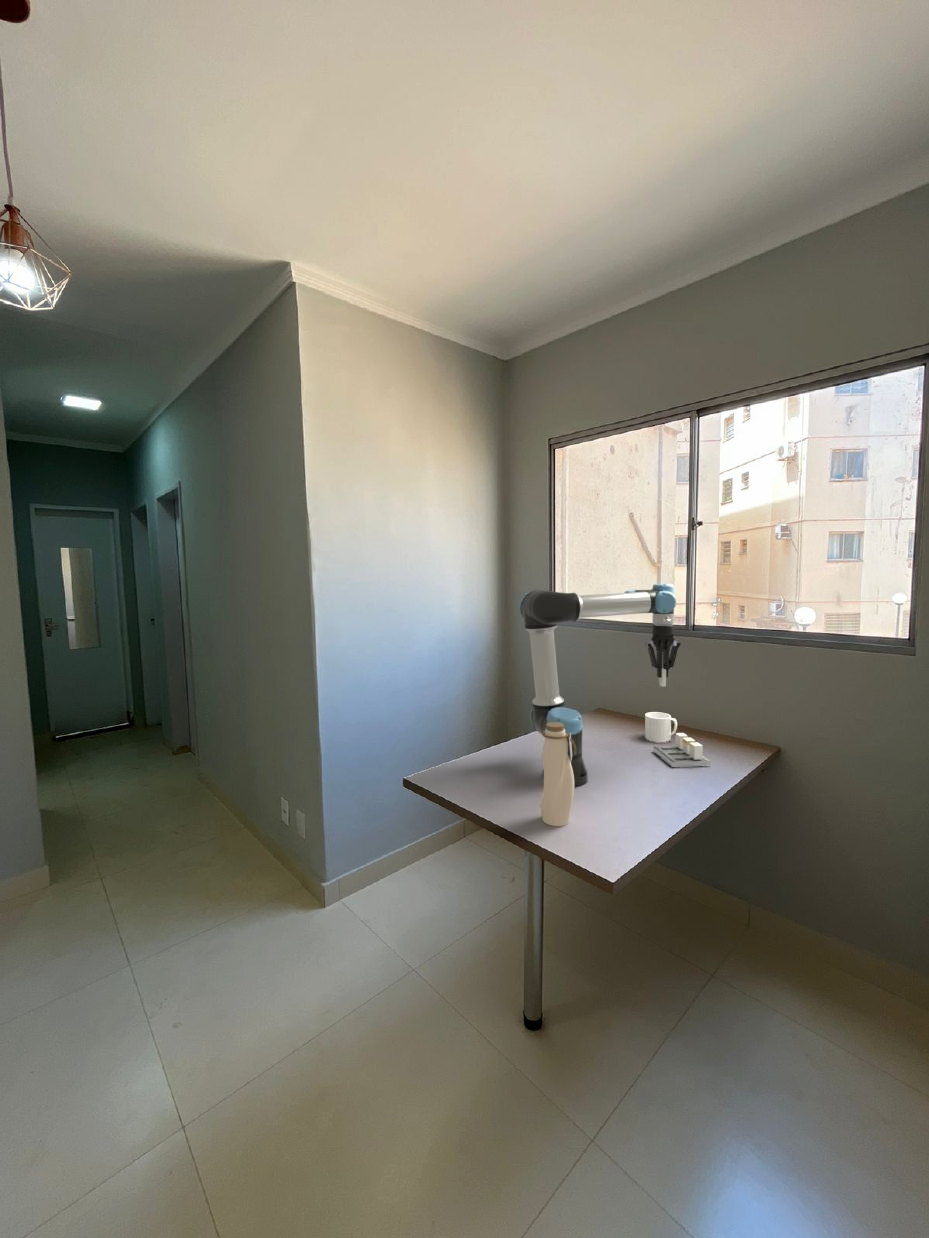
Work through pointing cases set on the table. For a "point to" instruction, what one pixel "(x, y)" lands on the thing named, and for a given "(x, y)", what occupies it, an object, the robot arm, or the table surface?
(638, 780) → the table surface
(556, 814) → the water bottle
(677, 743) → the block
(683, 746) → the block
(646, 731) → the mug
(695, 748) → the breaker low
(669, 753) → the panel
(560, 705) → the robot arm
